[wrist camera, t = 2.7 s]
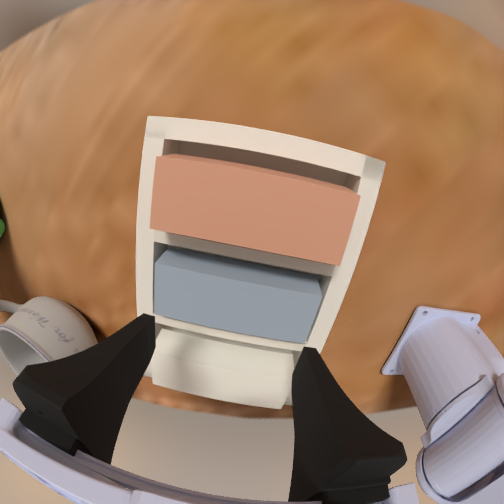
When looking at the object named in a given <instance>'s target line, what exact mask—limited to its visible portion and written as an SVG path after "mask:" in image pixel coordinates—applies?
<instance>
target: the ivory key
mask: <svg viewBox="0 0 504 504" xmlns="http://www.w3.org/2000/svg"><path fill="white" fill-rule="evenodd" d="M151 368H152V379H153V384H156V385H159V386H163V387H166V388H170V389H174V390H177V391H181V392H185V393H189V394H194V395H198V396H202V397H207V398H212V399H217V400H222V401H227V402H233V403H239V404H245V405H251V406H258V407H266V408H274V409H281V408H282V406H283V404H284V402H285V400H286V398H287V396H288V394H289V392H290V390H291V387H292V374H293V371H294V359H293V354H286V353H279V352H272V351H266V350H260V349H254V348H248V347H243V346H238V345H232V344H227V343H222V342H217V341H213V340H208V339H203V338H199V337H195V336H190V335H186V334H182V333H178V332H174V331H170V330H166V329H161V331H160V333H159V335H158V337H157V339H156V348H155V350H154V353H153V356H152V358H151Z"/></svg>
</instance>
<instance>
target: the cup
mask: <svg viewBox="0 0 504 504" xmlns="http://www.w3.org/2000/svg"><path fill="white" fill-rule="evenodd" d="M4 231H5V224H4V222H3V220H2V219H0V238H1V236H2V234H3V232H4Z"/></svg>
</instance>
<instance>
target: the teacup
mask: <svg viewBox="0 0 504 504" xmlns="http://www.w3.org/2000/svg"><path fill="white" fill-rule="evenodd" d="M0 311H6V312H10V313H13V315H12V316H11V317H10V318H9V319H8V320H7V321H6V322H5V323H2V324H0V350H1V353H2V354H3V356H4V358H5V360H6V361H7V362H8V364H9V365H10V366H11V368H12V369H13V371H14V372H15V373H16V374H17V375H19V374H20V373H21V372H22V370H23V369H24V368H25V367H26V366H27V365H32V364H39V363H45V362H50V361H54V360H58V359H61V358H64V357H67V356H70V355H73V354H76V353H78V352H81V351H83V350H85V349H88V348H90V347H92V346H94V345H96V344H98V342H97V340H96V337H95V334H94V332H93V330H92V328H91V326H90V325H89V323H88V322H87V321H86V319H85V318H84V317H83V316H82V315H81V314H80V313H79V312H78V311H77V310H76V309H75V308H73V307H72V306H70V305H69V304H67V303H65V302H63V301H60V300H57V299H54V298H51V297H47V296H39V297H35V298H33V299H31V300H29V301H28V302H26V303H25V304H21V305H20V304H17V303H14V302H10V301H7V300H1V299H0Z"/></svg>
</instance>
